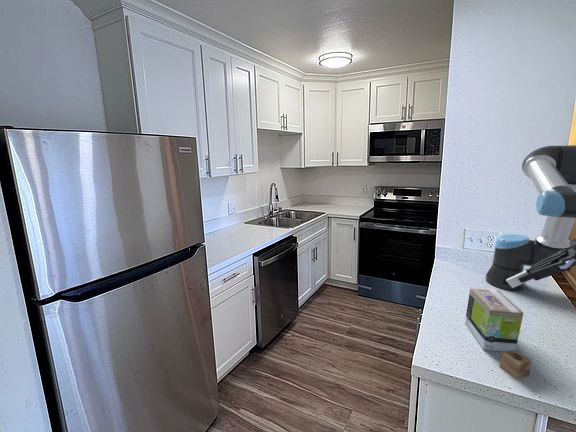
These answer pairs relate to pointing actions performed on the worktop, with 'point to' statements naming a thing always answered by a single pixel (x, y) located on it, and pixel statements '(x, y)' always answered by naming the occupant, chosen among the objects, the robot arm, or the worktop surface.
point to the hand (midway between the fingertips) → (509, 283)
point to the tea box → (493, 320)
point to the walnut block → (515, 364)
